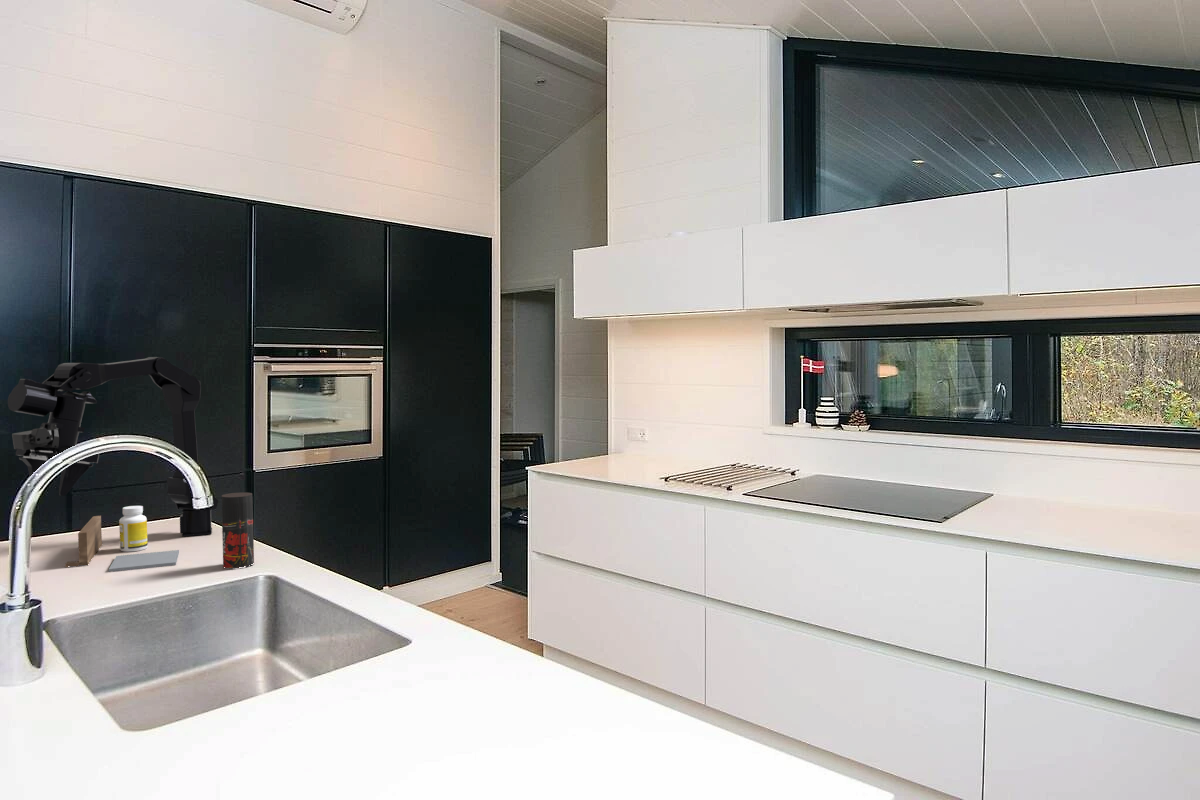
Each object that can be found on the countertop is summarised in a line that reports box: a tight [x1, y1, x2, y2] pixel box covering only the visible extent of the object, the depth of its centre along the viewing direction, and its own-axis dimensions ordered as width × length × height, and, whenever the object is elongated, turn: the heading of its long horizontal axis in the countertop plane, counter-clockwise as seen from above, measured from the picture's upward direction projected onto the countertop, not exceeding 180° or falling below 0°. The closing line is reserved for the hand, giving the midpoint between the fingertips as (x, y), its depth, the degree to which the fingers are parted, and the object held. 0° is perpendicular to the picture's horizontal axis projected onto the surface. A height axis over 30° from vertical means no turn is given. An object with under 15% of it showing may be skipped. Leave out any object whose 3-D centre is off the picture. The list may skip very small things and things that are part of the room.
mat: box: [108, 549, 180, 573], centre depth 164 cm, size 12×12×1 cm
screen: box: [64, 515, 103, 568], centre depth 169 cm, size 4×20×7 cm, turn 26°
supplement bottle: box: [118, 505, 149, 553], centre depth 175 cm, size 5×5×10 cm
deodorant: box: [221, 492, 255, 569], centre depth 161 cm, size 6×6×15 cm
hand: (48, 493), depth 159 cm, fingers open, 9 cm apart
